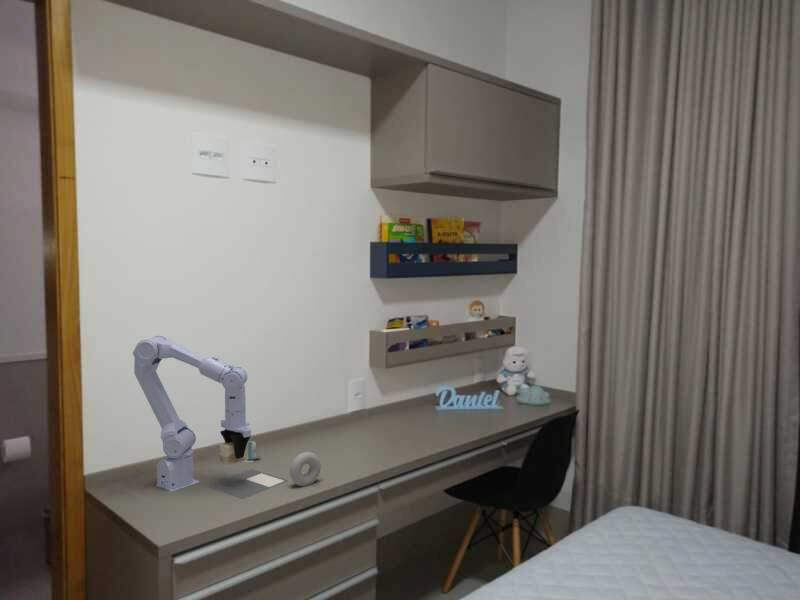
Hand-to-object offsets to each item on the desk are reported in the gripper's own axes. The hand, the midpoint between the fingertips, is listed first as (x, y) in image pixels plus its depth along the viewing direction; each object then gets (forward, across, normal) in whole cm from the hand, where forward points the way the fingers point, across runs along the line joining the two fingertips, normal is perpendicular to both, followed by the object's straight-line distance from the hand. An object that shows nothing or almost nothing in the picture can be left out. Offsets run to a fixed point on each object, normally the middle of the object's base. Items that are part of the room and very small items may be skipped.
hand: (235, 455), depth 172 cm
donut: (+9, -13, -15) cm, 22 cm away
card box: (+1, 0, 0) cm, 1 cm away
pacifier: (+9, +17, -14) cm, 24 cm away
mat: (+9, -2, -3) cm, 9 cm away
